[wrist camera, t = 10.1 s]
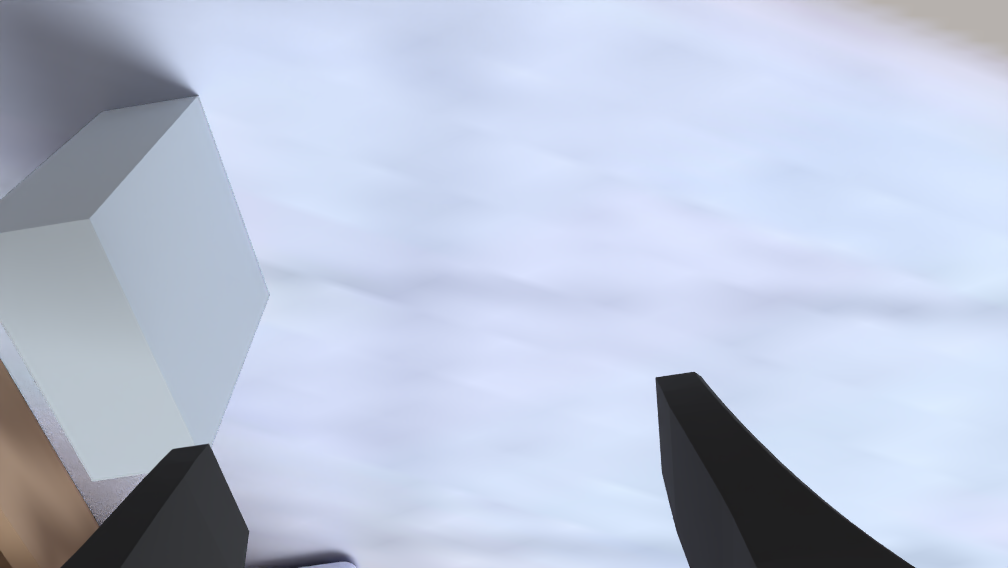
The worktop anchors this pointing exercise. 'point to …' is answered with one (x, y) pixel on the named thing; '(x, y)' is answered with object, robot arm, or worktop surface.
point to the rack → (35, 491)
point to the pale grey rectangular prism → (131, 285)
